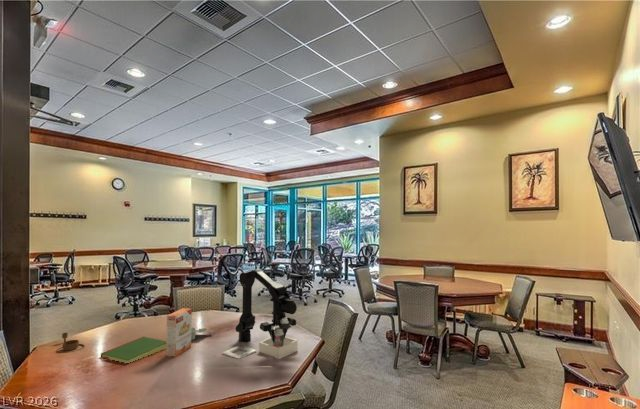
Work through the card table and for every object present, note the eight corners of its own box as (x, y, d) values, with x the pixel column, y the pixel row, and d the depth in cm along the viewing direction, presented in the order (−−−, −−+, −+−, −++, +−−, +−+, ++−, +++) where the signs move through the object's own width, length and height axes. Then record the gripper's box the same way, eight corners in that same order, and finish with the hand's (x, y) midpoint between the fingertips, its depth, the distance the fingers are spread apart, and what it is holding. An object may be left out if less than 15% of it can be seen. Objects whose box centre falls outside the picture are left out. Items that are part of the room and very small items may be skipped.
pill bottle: (275, 349, 173) (275, 330, 173) (271, 345, 178) (271, 326, 178) (285, 347, 176) (285, 328, 176) (281, 343, 180) (281, 325, 181)
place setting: (44, 358, 171) (45, 346, 171) (61, 343, 190) (61, 332, 190) (85, 354, 176) (85, 342, 176) (97, 339, 195) (97, 329, 195)
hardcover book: (143, 343, 190) (143, 336, 190) (168, 348, 183) (168, 341, 183) (99, 361, 167) (99, 354, 167) (126, 368, 160) (126, 360, 160)
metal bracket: (204, 329, 194) (179, 327, 196) (203, 340, 192) (178, 338, 194) (215, 328, 207) (192, 326, 209) (213, 338, 206) (190, 337, 208)
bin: (259, 353, 175) (259, 342, 175) (277, 344, 187) (277, 334, 187) (279, 360, 167) (279, 348, 167) (297, 350, 178) (297, 340, 178)
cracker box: (176, 358, 170) (176, 316, 170) (165, 357, 171) (165, 315, 171) (192, 347, 183) (192, 308, 184) (182, 346, 184) (182, 307, 185)
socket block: (222, 355, 172) (222, 352, 172) (240, 348, 182) (240, 344, 182) (238, 362, 165) (238, 358, 165) (256, 353, 175) (256, 350, 175)
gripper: (268, 317, 165) (268, 350, 165) (301, 311, 176) (301, 341, 175) (259, 312, 174) (259, 342, 174) (291, 306, 185) (291, 335, 185)
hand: (278, 340), depth 177 cm, fingers closed on pill bottle, 5 cm apart
